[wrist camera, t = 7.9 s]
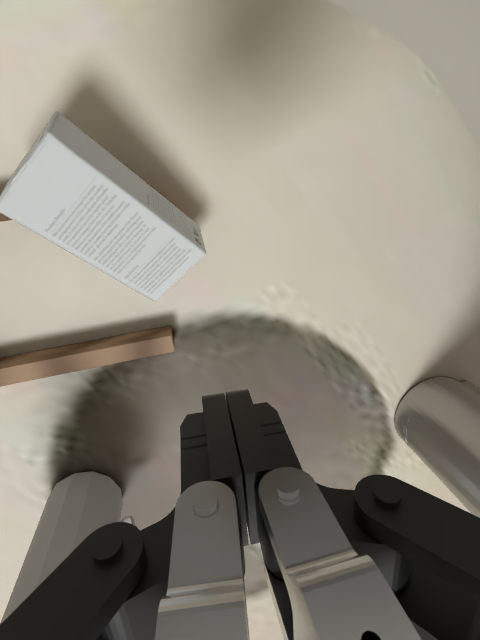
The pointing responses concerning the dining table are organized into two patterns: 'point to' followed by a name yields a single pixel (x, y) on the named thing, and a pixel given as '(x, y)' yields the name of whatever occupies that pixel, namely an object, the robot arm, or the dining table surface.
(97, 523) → the water bottle
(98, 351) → the brown wooden frame
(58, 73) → the dining table surface
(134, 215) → the skincare box
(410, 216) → the dining table surface
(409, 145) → the dining table surface
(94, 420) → the dining table surface
